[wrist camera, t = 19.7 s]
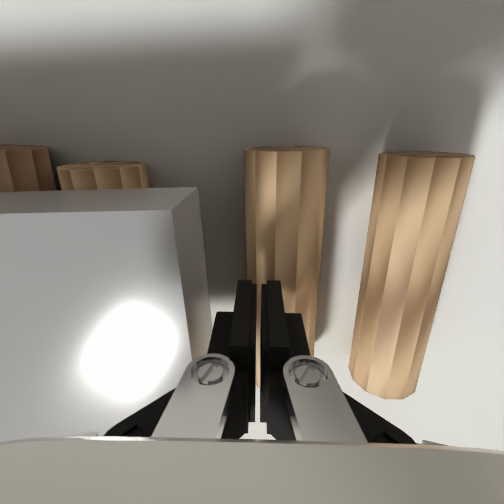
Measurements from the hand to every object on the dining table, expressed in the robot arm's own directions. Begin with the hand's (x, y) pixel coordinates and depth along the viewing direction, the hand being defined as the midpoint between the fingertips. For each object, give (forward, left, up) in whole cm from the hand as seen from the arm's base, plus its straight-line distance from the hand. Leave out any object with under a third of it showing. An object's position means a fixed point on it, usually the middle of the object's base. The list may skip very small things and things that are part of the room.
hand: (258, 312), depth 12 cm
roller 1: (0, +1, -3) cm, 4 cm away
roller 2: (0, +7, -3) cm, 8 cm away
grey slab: (+1, -9, -2) cm, 9 cm away
